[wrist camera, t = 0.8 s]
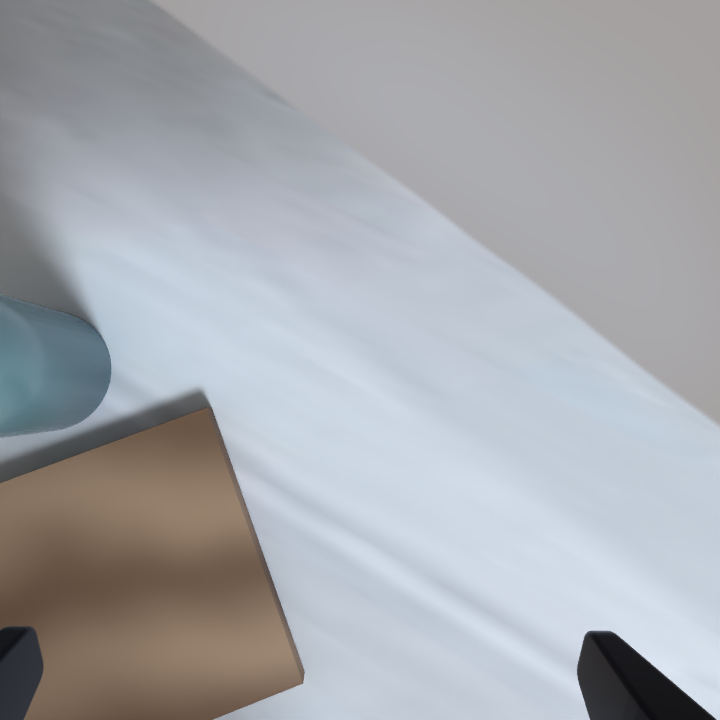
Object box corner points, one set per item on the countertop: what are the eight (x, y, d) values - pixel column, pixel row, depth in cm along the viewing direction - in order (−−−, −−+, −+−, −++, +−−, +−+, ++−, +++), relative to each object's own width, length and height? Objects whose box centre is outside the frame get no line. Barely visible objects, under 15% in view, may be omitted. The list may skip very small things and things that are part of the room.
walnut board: (304, 672, 21) (303, 683, 20) (31, 781, 21) (18, 796, 20) (211, 407, 22) (206, 407, 21) (-58, 505, 21) (-74, 509, 20)
